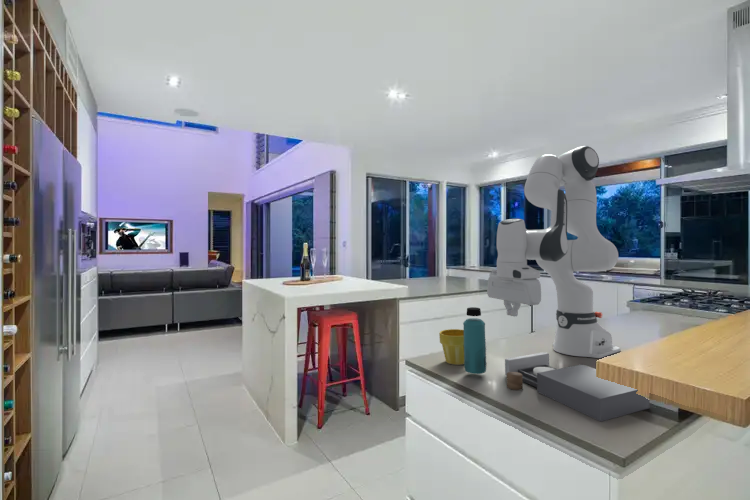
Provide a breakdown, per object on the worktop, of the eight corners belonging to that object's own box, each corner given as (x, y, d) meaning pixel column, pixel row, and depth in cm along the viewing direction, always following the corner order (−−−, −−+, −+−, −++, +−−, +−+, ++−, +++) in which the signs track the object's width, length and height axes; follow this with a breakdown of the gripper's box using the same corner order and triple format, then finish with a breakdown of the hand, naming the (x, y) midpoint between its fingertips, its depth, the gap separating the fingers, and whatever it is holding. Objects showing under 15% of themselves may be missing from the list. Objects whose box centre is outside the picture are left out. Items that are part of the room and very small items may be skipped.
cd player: (537, 391, 100) (537, 372, 100) (582, 382, 106) (582, 364, 106) (600, 421, 83) (600, 398, 83) (649, 408, 89) (649, 386, 89)
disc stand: (515, 383, 106) (515, 370, 106) (525, 388, 103) (525, 375, 103) (503, 385, 105) (503, 373, 105) (513, 391, 101) (513, 377, 101)
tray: (505, 375, 112) (504, 358, 112) (545, 367, 118) (544, 352, 118) (555, 398, 95) (555, 379, 95) (598, 388, 101) (598, 370, 101)
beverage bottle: (487, 379, 110) (486, 309, 109) (463, 378, 111) (462, 309, 110) (485, 372, 116) (484, 306, 115) (463, 371, 117) (462, 305, 117)
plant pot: (437, 357, 132) (437, 328, 131) (468, 356, 131) (467, 328, 131) (442, 367, 121) (441, 336, 121) (475, 366, 121) (474, 335, 121)
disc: (545, 370, 112) (544, 365, 112) (563, 377, 106) (563, 372, 106) (528, 374, 109) (528, 368, 109) (546, 381, 104) (546, 376, 104)
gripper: (482, 269, 128) (482, 311, 128) (527, 273, 109) (528, 322, 109) (497, 268, 130) (498, 309, 130) (544, 272, 111) (545, 320, 111)
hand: (512, 315), depth 119 cm, fingers closed
